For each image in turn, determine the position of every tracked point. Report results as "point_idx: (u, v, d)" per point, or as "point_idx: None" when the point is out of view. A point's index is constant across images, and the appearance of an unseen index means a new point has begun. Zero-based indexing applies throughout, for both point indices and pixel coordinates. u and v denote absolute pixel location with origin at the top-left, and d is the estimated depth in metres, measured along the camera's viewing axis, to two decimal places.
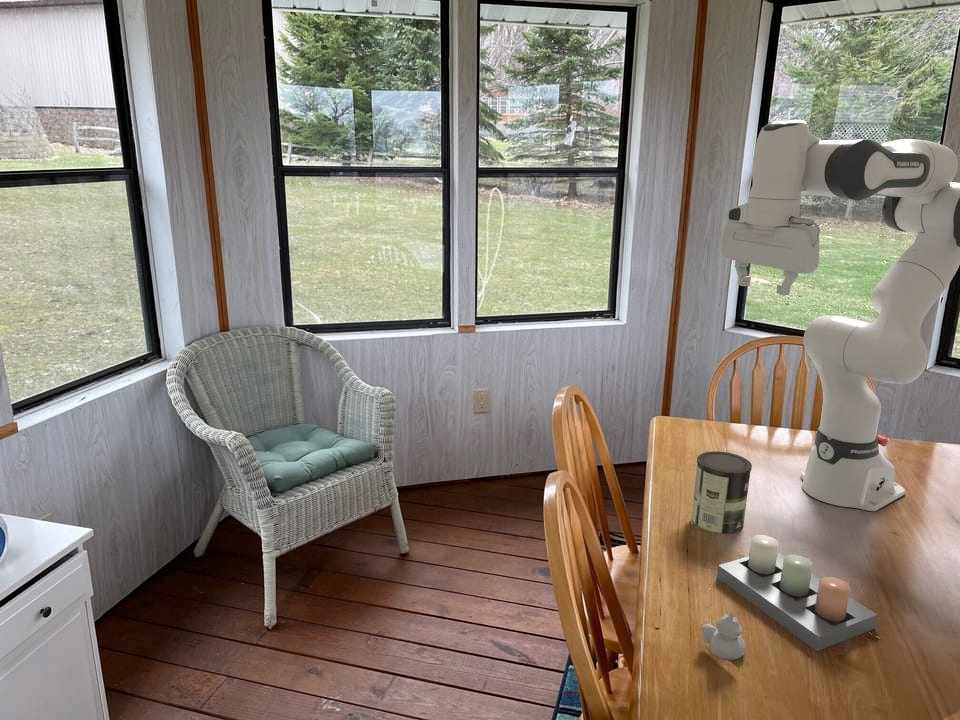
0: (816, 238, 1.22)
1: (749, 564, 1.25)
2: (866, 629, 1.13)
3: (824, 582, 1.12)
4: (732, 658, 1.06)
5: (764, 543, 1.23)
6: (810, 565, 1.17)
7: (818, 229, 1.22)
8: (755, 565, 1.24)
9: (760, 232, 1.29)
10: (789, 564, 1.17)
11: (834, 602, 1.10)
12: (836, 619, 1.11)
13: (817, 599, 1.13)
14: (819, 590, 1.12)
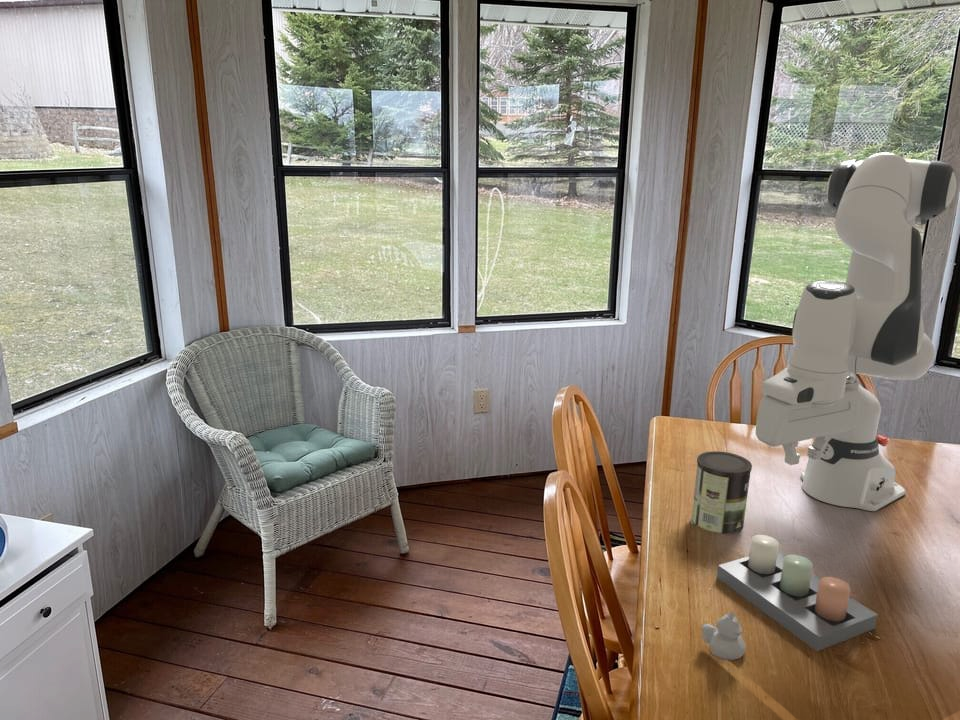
0: None
1: (749, 564, 1.25)
2: (866, 629, 1.13)
3: (824, 582, 1.12)
4: (732, 658, 1.06)
5: (764, 543, 1.23)
6: (810, 565, 1.17)
7: None
8: (755, 565, 1.24)
9: (831, 405, 1.16)
10: (789, 564, 1.17)
11: (834, 602, 1.10)
12: (836, 619, 1.11)
13: (817, 599, 1.13)
14: (819, 590, 1.12)
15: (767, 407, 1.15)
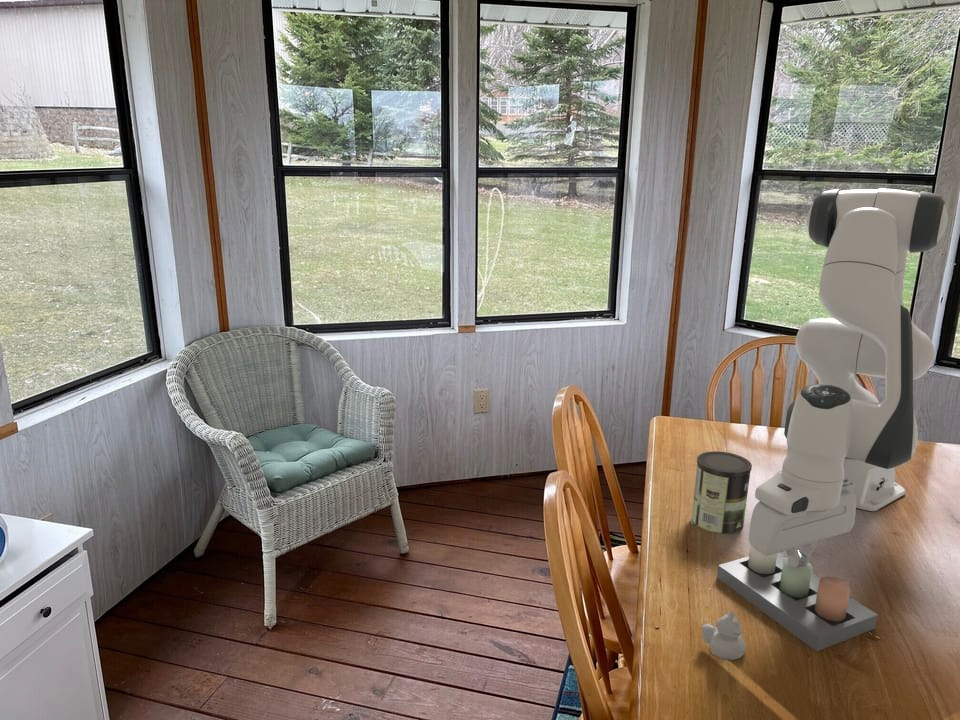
0: (852, 494, 1.19)
1: (749, 564, 1.25)
2: (866, 629, 1.13)
3: (824, 582, 1.12)
4: (732, 658, 1.06)
5: None
6: (810, 567, 1.17)
7: None
8: (755, 565, 1.24)
9: (826, 512, 1.12)
10: (789, 566, 1.17)
11: (834, 602, 1.10)
12: (836, 619, 1.11)
13: (817, 599, 1.13)
14: (819, 590, 1.12)
15: (761, 515, 1.11)
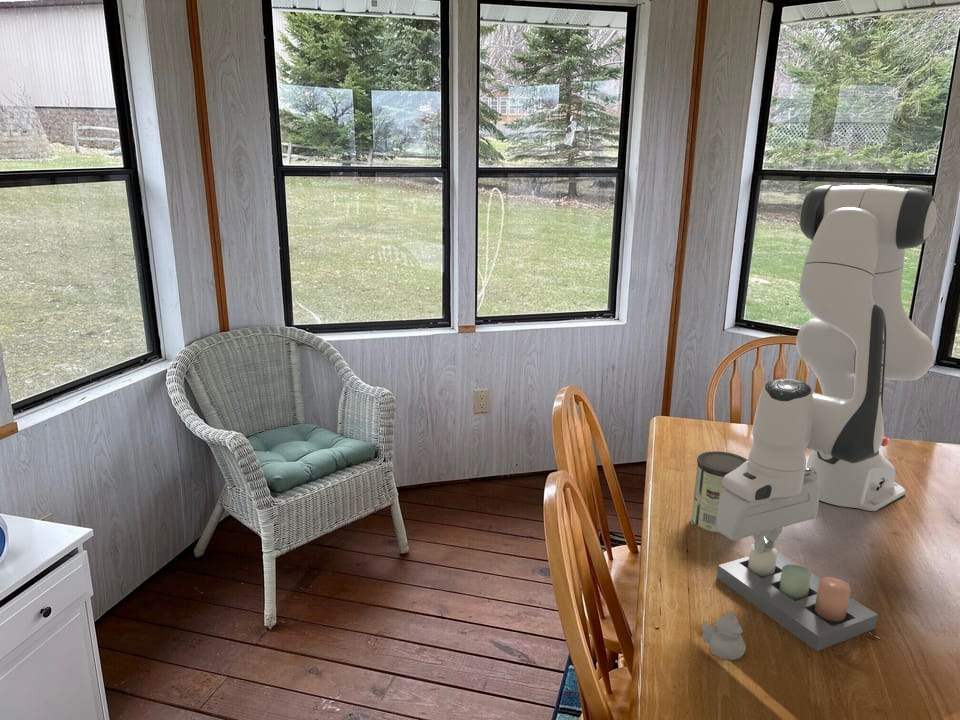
0: (816, 482, 1.25)
1: None
2: (866, 629, 1.13)
3: (824, 582, 1.12)
4: (732, 658, 1.06)
5: (763, 552, 1.24)
6: (809, 575, 1.17)
7: None
8: None
9: (789, 499, 1.19)
10: (787, 574, 1.18)
11: (834, 602, 1.10)
12: (836, 619, 1.11)
13: (817, 599, 1.13)
14: (819, 590, 1.12)
15: (727, 502, 1.18)
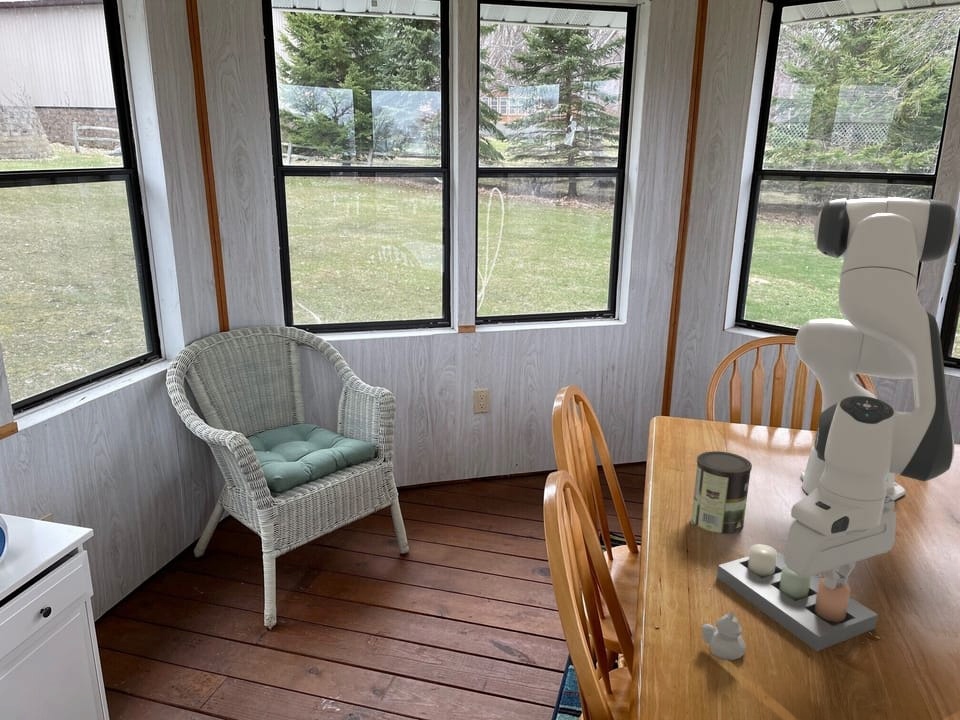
0: None
1: None
2: (866, 629, 1.13)
3: None
4: (732, 658, 1.06)
5: (763, 553, 1.24)
6: None
7: None
8: None
9: (866, 532, 1.06)
10: (787, 574, 1.18)
11: (834, 603, 1.10)
12: (836, 619, 1.11)
13: (817, 599, 1.13)
14: (819, 590, 1.12)
15: (798, 534, 1.05)
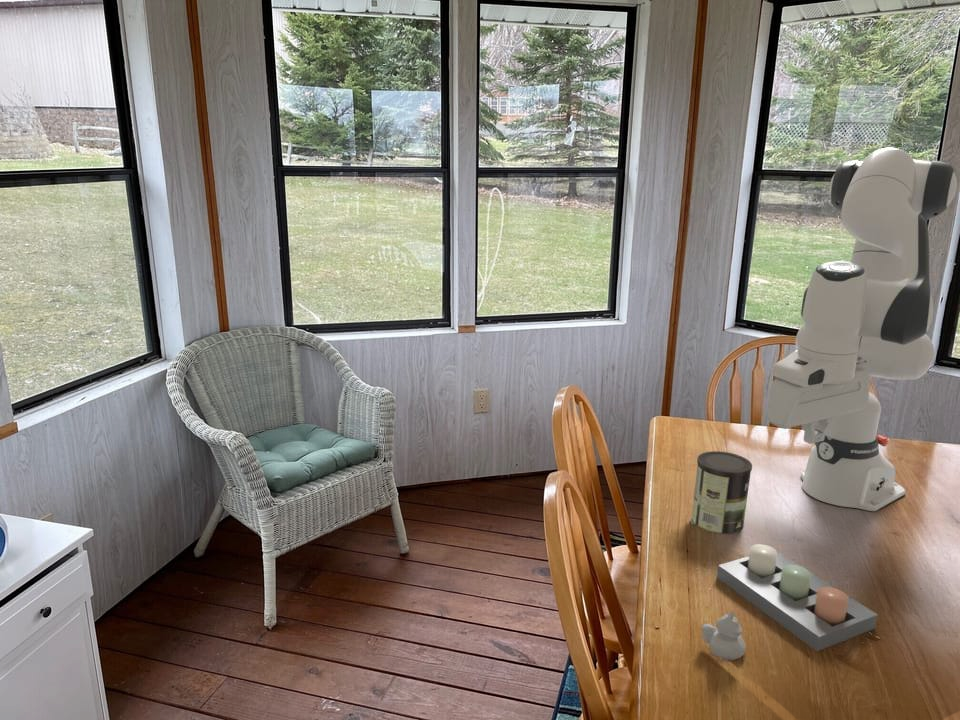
0: None
1: None
2: (866, 629, 1.13)
3: (822, 592, 1.13)
4: (732, 658, 1.06)
5: (763, 553, 1.24)
6: (809, 575, 1.17)
7: None
8: None
9: (841, 386, 1.16)
10: (787, 574, 1.18)
11: (832, 613, 1.11)
12: None
13: (815, 609, 1.13)
14: (817, 600, 1.13)
15: (778, 389, 1.15)
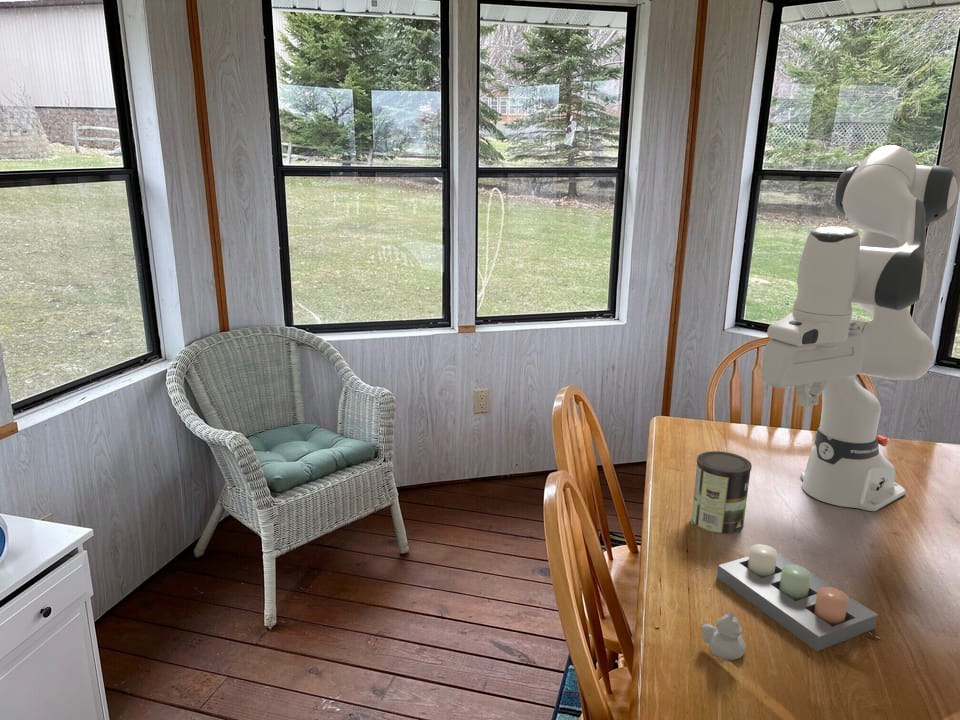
0: None
1: None
2: (866, 629, 1.13)
3: (822, 592, 1.13)
4: (732, 658, 1.06)
5: (763, 553, 1.24)
6: (809, 575, 1.17)
7: None
8: None
9: (835, 348, 1.18)
10: (787, 574, 1.18)
11: (832, 613, 1.11)
12: None
13: (815, 609, 1.13)
14: (817, 600, 1.13)
15: (773, 349, 1.17)
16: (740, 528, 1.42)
